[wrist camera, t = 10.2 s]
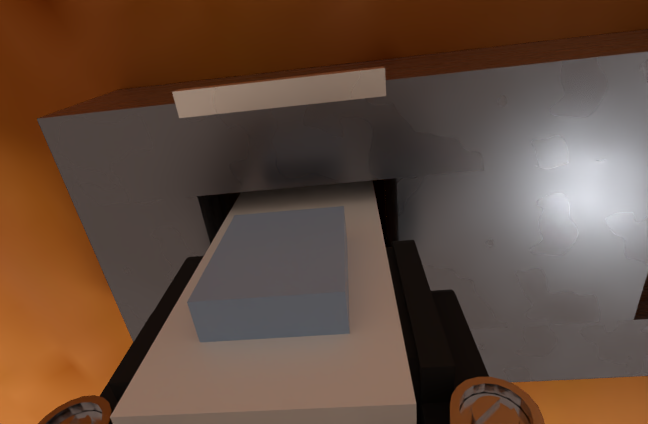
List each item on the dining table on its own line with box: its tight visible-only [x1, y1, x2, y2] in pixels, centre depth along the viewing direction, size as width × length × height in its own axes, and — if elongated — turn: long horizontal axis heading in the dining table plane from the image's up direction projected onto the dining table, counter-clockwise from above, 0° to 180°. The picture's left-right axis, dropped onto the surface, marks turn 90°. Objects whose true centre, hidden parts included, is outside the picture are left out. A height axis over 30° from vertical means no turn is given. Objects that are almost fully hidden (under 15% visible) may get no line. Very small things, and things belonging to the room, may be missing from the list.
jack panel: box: [37, 29, 648, 382], centre depth 13 cm, size 24×10×4 cm, turn 96°
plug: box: [110, 180, 417, 424], centre depth 10 cm, size 4×5×11 cm
